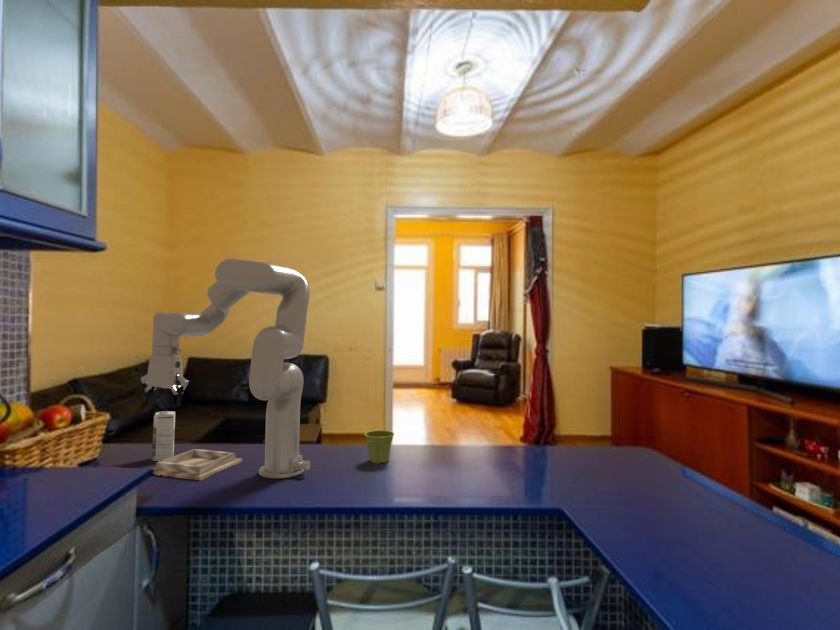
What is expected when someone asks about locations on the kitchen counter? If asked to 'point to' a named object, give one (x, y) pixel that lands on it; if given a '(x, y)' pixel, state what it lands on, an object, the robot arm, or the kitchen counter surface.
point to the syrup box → (163, 435)
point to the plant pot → (379, 445)
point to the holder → (196, 464)
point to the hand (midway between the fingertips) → (163, 405)
